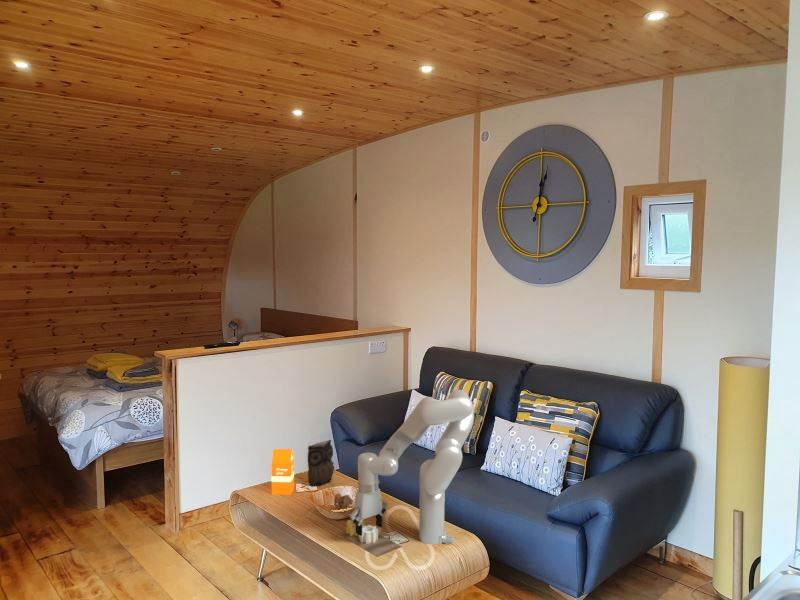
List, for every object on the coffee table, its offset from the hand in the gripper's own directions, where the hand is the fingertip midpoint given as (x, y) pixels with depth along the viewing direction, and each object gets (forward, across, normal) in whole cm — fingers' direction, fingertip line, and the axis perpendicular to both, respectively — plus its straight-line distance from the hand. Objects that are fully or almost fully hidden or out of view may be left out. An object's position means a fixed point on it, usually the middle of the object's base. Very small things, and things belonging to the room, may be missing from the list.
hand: (369, 530), depth 233 cm
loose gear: (+3, 0, 0) cm, 3 cm away
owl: (+4, -20, -66) cm, 69 cm away
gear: (+3, 0, -8) cm, 8 cm away
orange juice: (+4, -1, -65) cm, 65 cm away
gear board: (+5, 0, 0) cm, 5 cm away
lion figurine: (+5, -8, -30) cm, 31 cm away
